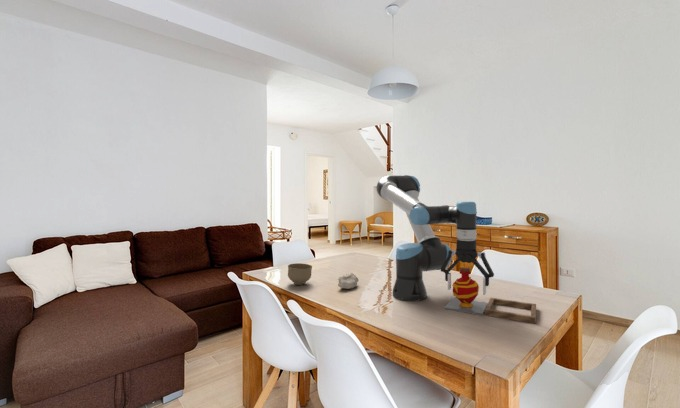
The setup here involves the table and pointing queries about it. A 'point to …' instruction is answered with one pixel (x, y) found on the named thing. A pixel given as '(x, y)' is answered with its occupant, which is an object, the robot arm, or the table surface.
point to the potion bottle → (465, 288)
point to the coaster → (475, 309)
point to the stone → (348, 281)
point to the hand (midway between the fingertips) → (466, 291)
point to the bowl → (299, 273)
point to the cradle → (507, 314)
